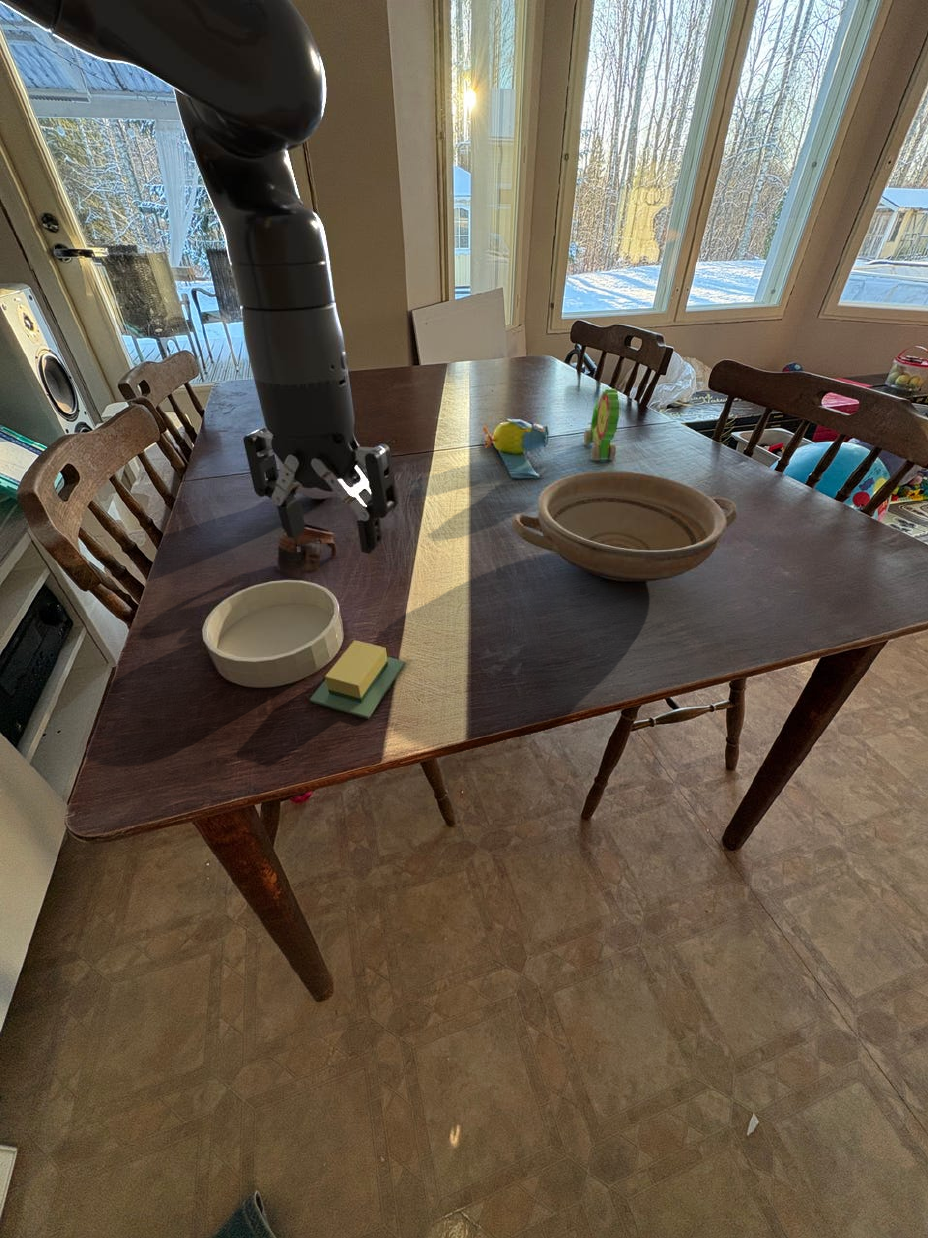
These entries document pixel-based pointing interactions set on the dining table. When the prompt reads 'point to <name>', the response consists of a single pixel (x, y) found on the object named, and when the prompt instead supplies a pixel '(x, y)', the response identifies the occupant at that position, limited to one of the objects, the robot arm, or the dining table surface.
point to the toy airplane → (517, 445)
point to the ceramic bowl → (627, 524)
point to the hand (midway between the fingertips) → (333, 542)
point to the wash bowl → (274, 633)
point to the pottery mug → (303, 551)
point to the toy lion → (603, 426)
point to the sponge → (357, 671)
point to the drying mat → (371, 699)
